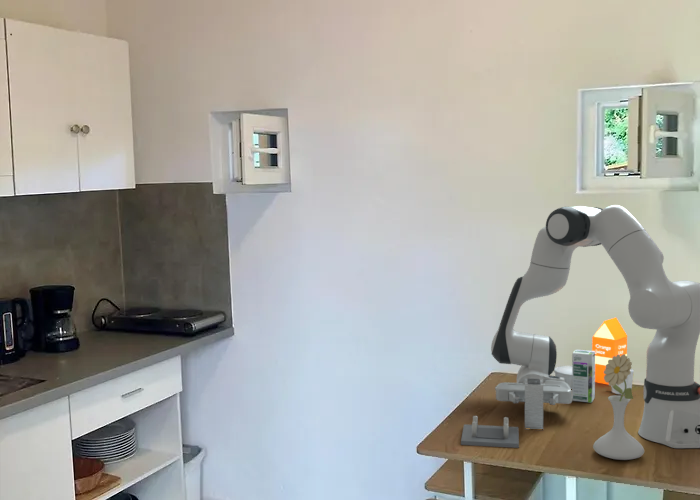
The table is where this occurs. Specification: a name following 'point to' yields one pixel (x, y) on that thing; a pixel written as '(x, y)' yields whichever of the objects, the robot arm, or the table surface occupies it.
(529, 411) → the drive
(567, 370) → the ramekin
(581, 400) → the syrup box
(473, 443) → the stand
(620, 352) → the orange juice
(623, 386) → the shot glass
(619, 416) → the flower in vase
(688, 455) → the table surface
